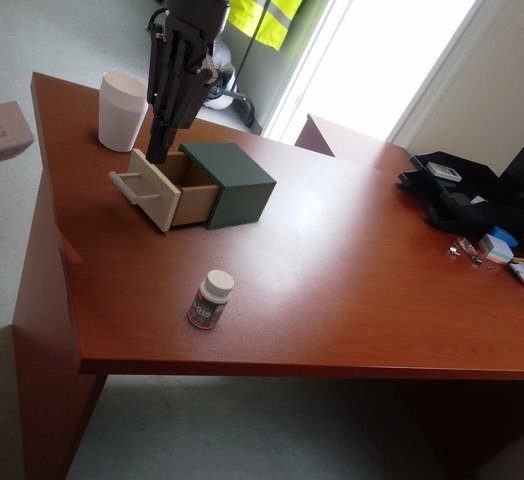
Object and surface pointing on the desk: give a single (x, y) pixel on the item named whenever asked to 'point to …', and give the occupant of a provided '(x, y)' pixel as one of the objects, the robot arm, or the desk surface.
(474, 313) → the desk surface
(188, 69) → the robot arm
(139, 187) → the drawer
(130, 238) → the desk surface
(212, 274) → the pill bottle
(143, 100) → the cup
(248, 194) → the cabinet
